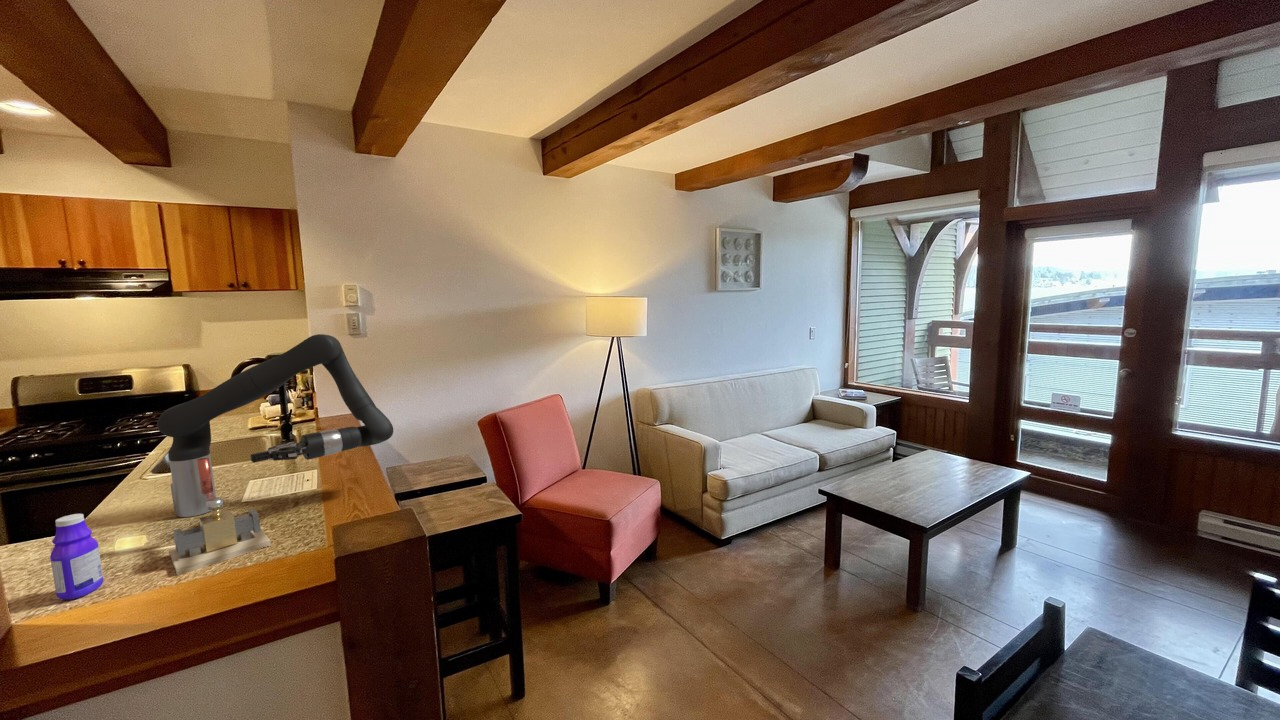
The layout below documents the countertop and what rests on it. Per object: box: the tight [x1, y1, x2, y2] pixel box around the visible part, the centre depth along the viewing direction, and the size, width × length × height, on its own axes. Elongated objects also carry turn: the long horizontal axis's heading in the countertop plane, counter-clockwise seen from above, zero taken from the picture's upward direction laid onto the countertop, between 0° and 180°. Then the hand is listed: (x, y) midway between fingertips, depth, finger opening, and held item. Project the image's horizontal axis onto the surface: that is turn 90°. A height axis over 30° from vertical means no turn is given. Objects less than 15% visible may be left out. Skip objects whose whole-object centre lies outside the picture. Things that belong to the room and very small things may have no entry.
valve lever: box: [197, 458, 224, 510], centre depth 129 cm, size 3×13×10 cm, turn 48°
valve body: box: [172, 507, 262, 557], centre depth 127 cm, size 16×6×10 cm, turn 138°
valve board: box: [168, 528, 272, 576], centre depth 127 cm, size 18×14×2 cm
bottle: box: [49, 513, 104, 600], centre depth 109 cm, size 7×6×17 cm
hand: (251, 458), depth 139 cm, fingers closed
